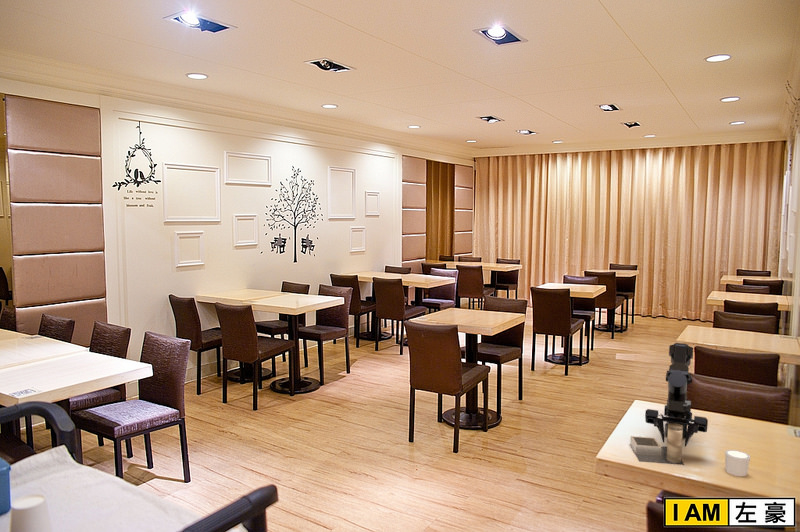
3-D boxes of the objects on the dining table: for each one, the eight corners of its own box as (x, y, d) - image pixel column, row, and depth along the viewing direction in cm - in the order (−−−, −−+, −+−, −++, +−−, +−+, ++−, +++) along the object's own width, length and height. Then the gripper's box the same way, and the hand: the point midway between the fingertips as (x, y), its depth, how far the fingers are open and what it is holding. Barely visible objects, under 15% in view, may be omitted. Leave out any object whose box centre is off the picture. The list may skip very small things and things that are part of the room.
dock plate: (672, 449, 196) (672, 438, 195) (684, 467, 182) (685, 456, 182) (629, 446, 198) (630, 436, 198) (638, 464, 185) (639, 452, 184)
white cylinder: (748, 482, 172) (750, 460, 171) (723, 476, 176) (724, 455, 175) (748, 473, 178) (750, 452, 177) (724, 468, 182) (725, 447, 181)
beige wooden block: (678, 457, 187) (680, 423, 186) (682, 463, 183) (684, 428, 182) (664, 456, 188) (666, 422, 187) (668, 462, 184) (670, 427, 182)
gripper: (646, 386, 191) (642, 428, 182) (709, 394, 182) (708, 438, 174) (647, 401, 199) (643, 442, 190) (707, 409, 190) (706, 453, 181)
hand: (674, 444), depth 183 cm, fingers open, 6 cm apart
